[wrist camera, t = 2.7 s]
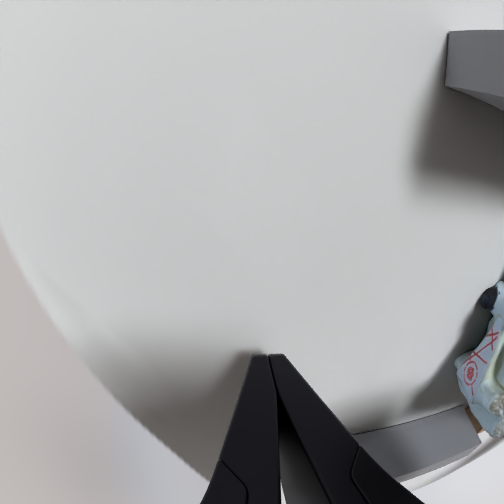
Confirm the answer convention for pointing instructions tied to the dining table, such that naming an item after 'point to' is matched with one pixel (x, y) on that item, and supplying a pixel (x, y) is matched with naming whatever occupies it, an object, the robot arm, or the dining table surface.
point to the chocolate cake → (486, 368)
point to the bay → (456, 420)
